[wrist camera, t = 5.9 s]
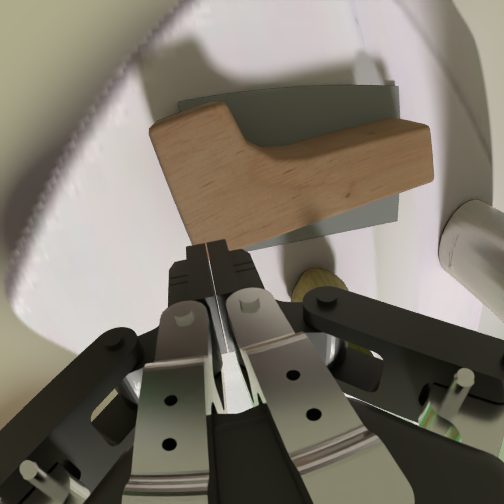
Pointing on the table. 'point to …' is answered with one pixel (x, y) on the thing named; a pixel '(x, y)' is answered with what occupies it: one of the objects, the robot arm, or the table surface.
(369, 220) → the mat
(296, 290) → the fennel bulb
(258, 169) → the wooden block
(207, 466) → the robot arm
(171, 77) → the table surface
